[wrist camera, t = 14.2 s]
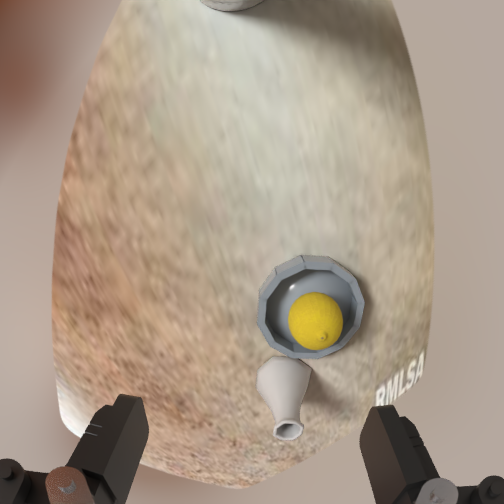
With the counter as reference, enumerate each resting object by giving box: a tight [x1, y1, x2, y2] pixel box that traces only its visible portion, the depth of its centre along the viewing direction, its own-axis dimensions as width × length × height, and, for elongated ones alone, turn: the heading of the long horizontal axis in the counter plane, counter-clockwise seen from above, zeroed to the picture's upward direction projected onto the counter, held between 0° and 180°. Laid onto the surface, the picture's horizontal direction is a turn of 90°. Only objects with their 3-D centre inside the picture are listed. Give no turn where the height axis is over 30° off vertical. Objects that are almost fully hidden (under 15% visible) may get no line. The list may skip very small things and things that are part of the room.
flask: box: [256, 356, 312, 440], centre depth 33 cm, size 7×7×10 cm
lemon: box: [288, 292, 343, 350], centre depth 31 cm, size 6×6×8 cm
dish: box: [257, 255, 365, 359], centre depth 34 cm, size 12×12×2 cm
